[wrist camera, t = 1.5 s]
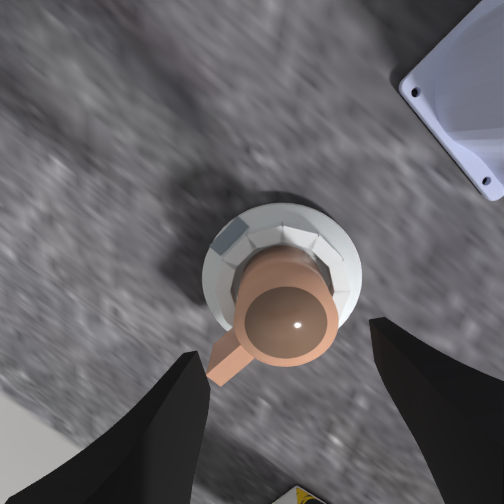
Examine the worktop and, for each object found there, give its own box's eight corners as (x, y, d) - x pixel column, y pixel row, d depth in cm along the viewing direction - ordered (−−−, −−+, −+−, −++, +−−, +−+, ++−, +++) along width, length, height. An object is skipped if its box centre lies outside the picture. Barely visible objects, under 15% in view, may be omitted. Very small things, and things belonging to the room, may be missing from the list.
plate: (390, 278, 21) (403, 291, 19) (279, 367, 24) (280, 386, 22) (281, 166, 19) (283, 168, 17) (173, 279, 22) (164, 291, 20)
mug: (281, 228, 19) (286, 254, 15) (338, 283, 21) (360, 324, 16) (194, 312, 22) (175, 358, 17) (250, 357, 23) (246, 413, 18)
